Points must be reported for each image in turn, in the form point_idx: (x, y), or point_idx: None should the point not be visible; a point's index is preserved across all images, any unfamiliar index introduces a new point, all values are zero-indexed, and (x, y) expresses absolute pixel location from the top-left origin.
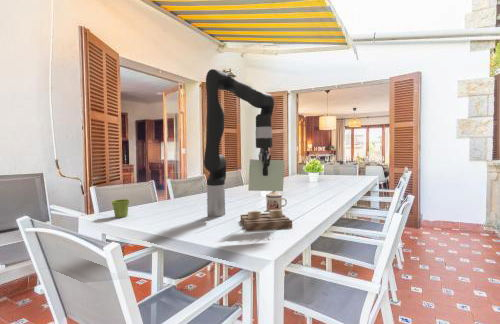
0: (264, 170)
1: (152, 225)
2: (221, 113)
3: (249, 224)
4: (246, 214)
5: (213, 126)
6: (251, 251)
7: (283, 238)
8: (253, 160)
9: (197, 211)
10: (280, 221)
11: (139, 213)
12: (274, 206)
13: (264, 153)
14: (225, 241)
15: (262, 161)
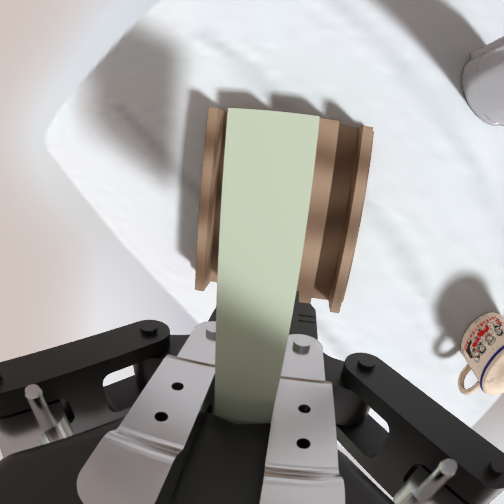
0: (212, 315)
1: None
2: None
3: (209, 118)
4: (368, 155)
5: None
6: (81, 100)
7: (140, 212)
8: (229, 207)
9: None
10: (197, 245)
11: None
12: (473, 340)
13: (17, 452)
14: (170, 38)
15: (166, 366)
